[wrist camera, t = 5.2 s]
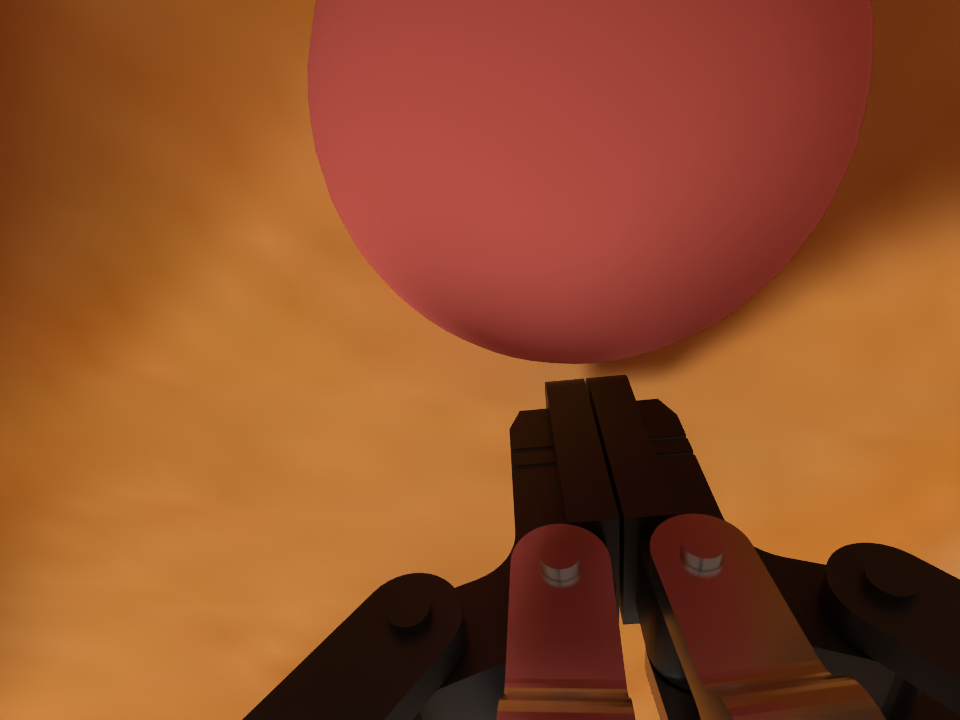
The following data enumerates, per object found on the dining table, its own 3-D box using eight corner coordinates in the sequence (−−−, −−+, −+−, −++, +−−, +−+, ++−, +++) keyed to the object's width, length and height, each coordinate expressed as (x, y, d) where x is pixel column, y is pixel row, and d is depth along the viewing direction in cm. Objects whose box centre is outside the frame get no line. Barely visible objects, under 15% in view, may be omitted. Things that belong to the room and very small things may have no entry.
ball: (367, 464, 8) (393, 168, 12) (828, 435, 8) (719, 135, 11) (82, 22, 3) (267, -277, 7) (1289, -130, 3) (847, -371, 6)
